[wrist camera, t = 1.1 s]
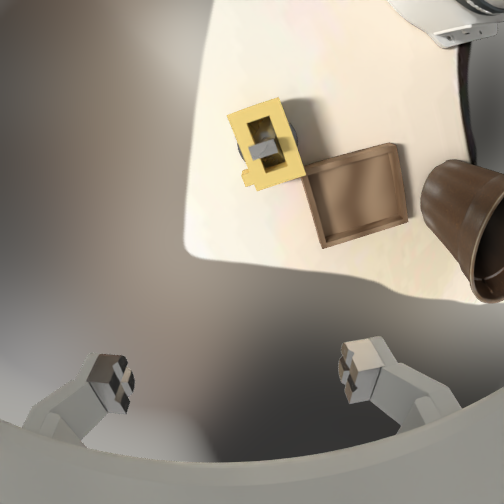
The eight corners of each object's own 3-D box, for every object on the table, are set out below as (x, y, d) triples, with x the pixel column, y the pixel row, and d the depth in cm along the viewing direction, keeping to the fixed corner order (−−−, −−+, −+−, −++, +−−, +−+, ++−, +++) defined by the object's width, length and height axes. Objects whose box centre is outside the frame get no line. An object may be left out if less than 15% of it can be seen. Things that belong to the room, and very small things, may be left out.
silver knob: (284, 106, 32) (290, 106, 26) (302, 158, 35) (311, 168, 29) (230, 124, 33) (224, 128, 27) (250, 175, 36) (248, 189, 30)
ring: (277, 97, 29) (278, 97, 27) (302, 170, 33) (306, 175, 31) (220, 117, 31) (218, 118, 28) (249, 187, 35) (248, 194, 32)
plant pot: (493, 158, 32) (563, 193, 18) (470, 246, 40) (523, 301, 26) (419, 134, 32) (497, 162, 18) (397, 240, 40) (450, 307, 26)
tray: (389, 142, 33) (396, 145, 31) (401, 215, 38) (408, 221, 36) (297, 167, 35) (300, 171, 33) (319, 241, 40) (322, 249, 38)
